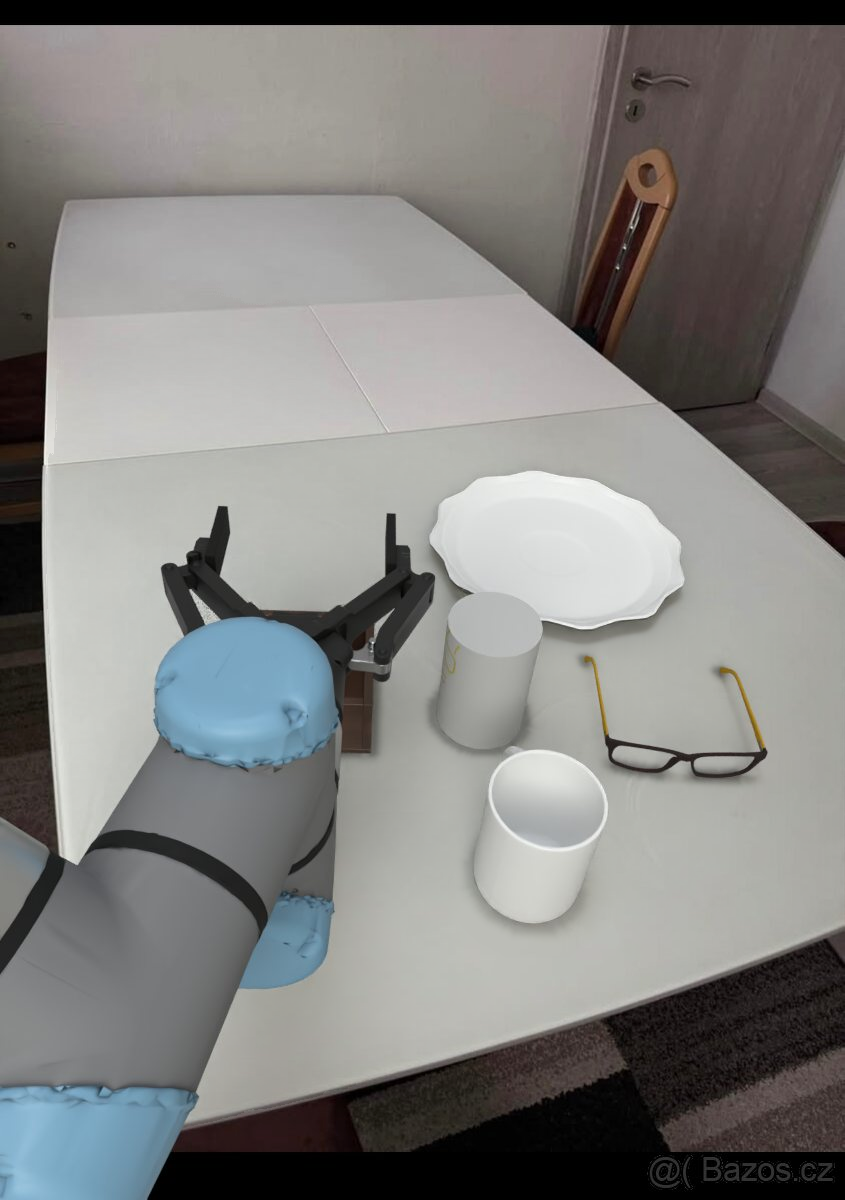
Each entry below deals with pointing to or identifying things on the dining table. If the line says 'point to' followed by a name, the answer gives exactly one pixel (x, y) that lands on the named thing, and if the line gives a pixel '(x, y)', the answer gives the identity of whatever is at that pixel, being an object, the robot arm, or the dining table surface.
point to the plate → (559, 548)
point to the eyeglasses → (679, 755)
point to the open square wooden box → (354, 699)
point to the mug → (538, 834)
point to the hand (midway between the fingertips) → (308, 522)
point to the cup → (487, 668)
